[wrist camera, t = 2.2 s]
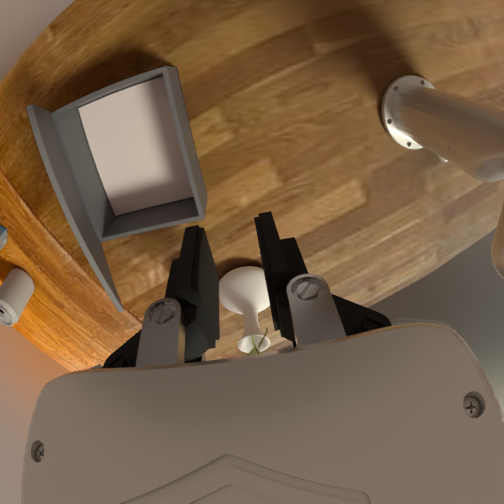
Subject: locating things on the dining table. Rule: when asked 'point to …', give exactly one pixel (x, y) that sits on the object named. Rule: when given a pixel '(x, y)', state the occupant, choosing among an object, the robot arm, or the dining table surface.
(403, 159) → the dining table surface
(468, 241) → the dining table surface
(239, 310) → the flower in vase
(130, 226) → the box
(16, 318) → the can
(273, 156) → the dining table surface
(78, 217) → the mailer lid
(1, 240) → the label tape box
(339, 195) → the dining table surface
